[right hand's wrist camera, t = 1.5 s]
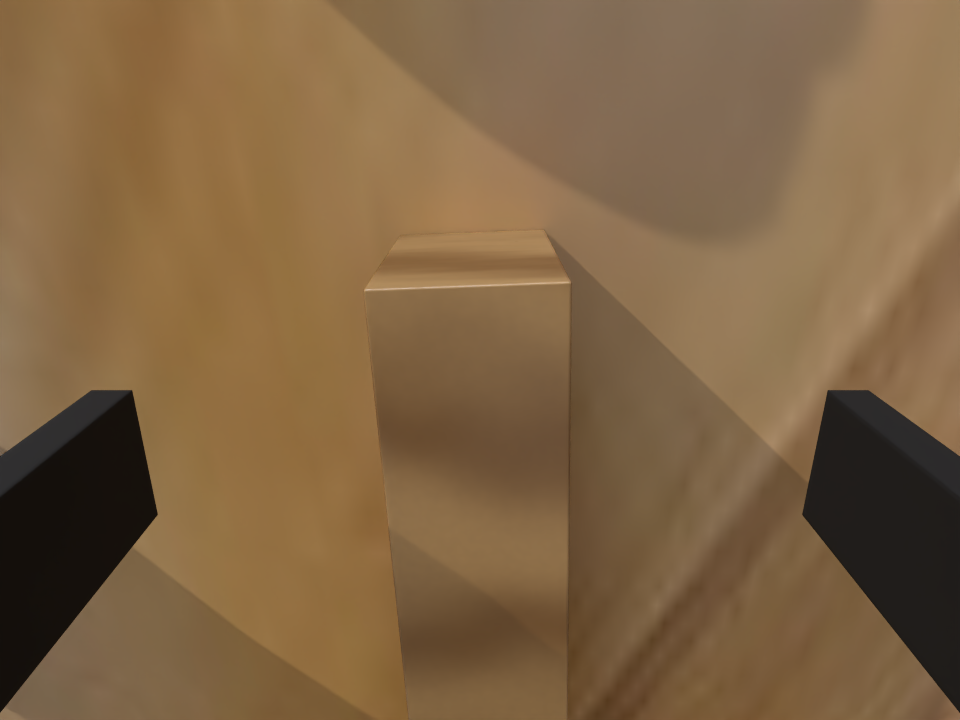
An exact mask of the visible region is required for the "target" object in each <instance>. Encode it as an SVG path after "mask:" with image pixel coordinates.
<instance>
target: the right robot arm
mask: <svg viewBox="0 0 960 720" xmlns="http://www.w3.org/2000/svg"><path fill="white" fill-rule="evenodd" d="M157 515H158V514H157V509H156V504H155V499H154V494H153V489H152V485H151V480H150V475H149V470H148V465H147V460H146V455H145V450H144V446H143V441H142V436H141V431H140V426H139V421H138V416H137V412H136V407H135V402H134V397H133V392H132V390H91V391H90V392H89V393H87V394H86V395H84V396H83V397H82V398H80V399H79V400H78V401H76V402H75V403H73V404H72V405H71V406H69V407H68V408H67V409H65V410H64V411H62V412H61V413H60V414H58V415H57V416H55V417H54V418H53V419H51V420H50V421H49V422H47V423H46V424H44V425H43V426H42V427H40V428H39V429H37V430H36V431H35V432H33V433H32V434H31V435H29V436H28V437H26V438H25V439H24V440H22V441H21V442H20V443H18V444H17V445H15V446H14V447H13V448H11V449H10V450H8V451H7V452H6V453H4V454H3V455H2V456H0V712H1V711H2V710H3V709H4V707H5V706H6V705H7V704H8V702H9V701H10V700H11V699H12V697H13V696H14V695H15V693H16V692H17V691H18V690H19V688H20V687H21V686H22V685H23V683H24V682H25V681H26V680H27V678H28V677H29V676H30V675H31V673H32V672H33V671H34V670H35V668H36V667H37V666H38V665H39V663H40V662H41V661H42V660H43V658H44V657H45V656H46V655H47V653H48V652H49V651H50V649H51V648H52V647H53V646H54V644H55V643H56V642H57V641H58V639H59V638H60V637H61V636H62V634H63V633H64V632H65V631H66V629H67V628H68V627H69V626H70V624H71V623H72V622H73V621H74V619H75V618H76V617H77V616H78V614H79V613H80V612H81V610H82V609H83V608H84V607H85V605H86V604H87V603H88V602H89V600H90V599H91V598H92V597H93V595H94V594H95V593H96V592H97V590H98V589H99V588H100V587H101V585H102V584H103V583H104V582H105V580H106V579H107V578H108V577H109V575H110V574H111V573H112V572H113V570H114V569H115V568H116V566H117V565H118V564H119V563H120V561H121V560H122V559H123V558H124V556H125V555H126V554H127V553H128V551H129V550H130V549H131V548H132V546H133V545H134V544H135V543H136V541H137V540H138V539H139V538H140V536H141V535H142V534H143V533H144V531H145V530H146V529H147V528H148V526H149V525H150V524H151V522H152V521H153V520H154V519H155V517H156V516H157ZM802 515H803V516H804V517H805V519H806V520H807V521H808V522H809V524H810V525H811V526H812V528H813V529H814V530H815V531H816V533H817V534H818V535H819V536H820V538H821V539H822V540H823V541H824V543H825V544H826V545H827V546H828V548H829V549H830V550H831V551H832V553H833V554H834V555H835V556H836V558H837V559H838V560H839V561H840V563H841V564H842V565H843V566H844V568H845V569H846V570H847V572H848V573H849V574H850V575H851V577H852V578H853V579H854V580H855V582H856V583H857V584H858V585H859V587H860V588H861V589H862V590H863V592H864V593H865V594H866V595H867V597H868V598H869V599H870V600H871V602H872V603H873V604H874V605H875V607H876V608H877V609H878V610H879V612H880V613H881V614H882V616H883V617H884V618H885V619H886V621H887V622H888V623H889V624H890V626H891V627H892V628H893V629H894V631H895V632H896V633H897V634H898V636H899V637H900V638H901V639H902V641H903V642H904V643H905V644H906V646H907V647H908V648H909V649H910V651H911V652H912V653H913V655H914V656H915V657H916V658H917V660H918V661H919V662H920V663H921V665H922V666H923V667H924V668H925V670H926V671H927V672H928V673H929V675H930V676H931V677H932V678H933V680H934V681H935V682H936V683H937V685H938V686H939V687H940V688H941V690H942V691H943V692H944V693H945V695H946V696H947V697H948V699H949V700H950V701H951V702H952V704H953V705H954V706H955V707H956V709H957V710H958V711H959V712H960V456H958V455H957V454H956V453H954V452H953V451H952V450H950V449H949V448H947V447H946V446H945V445H943V444H942V443H940V442H939V441H938V440H936V439H935V438H934V437H932V436H931V435H929V434H928V433H927V432H925V431H924V430H923V429H921V428H920V427H918V426H917V425H916V424H914V423H913V422H911V421H910V420H909V419H907V418H906V417H905V416H903V415H902V414H900V413H899V412H898V411H896V410H895V409H893V408H892V407H891V406H889V405H888V404H887V403H885V402H884V401H882V400H881V399H880V398H878V397H877V396H876V395H874V394H873V393H871V392H870V391H869V390H828V392H827V397H826V402H825V407H824V412H823V416H822V421H821V426H820V431H819V436H818V441H817V446H816V450H815V455H814V460H813V465H812V470H811V475H810V480H809V485H808V489H807V494H806V499H805V504H804V509H803V514H802Z"/></svg>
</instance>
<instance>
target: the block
mask: <svg viewBox="0 0 960 720" xmlns="http://www.w3.org/2000/svg"><path fill="white" fill-rule="evenodd" d="M363 292H364V302H365V311H366V320H367V330H368V339H369V349H370V358H371V368H372V377H373V387H374V396H375V406H376V415H377V424H378V434H379V443H380V453H381V462H382V472H383V481H384V491H385V500H386V510H387V519H388V528H389V538H390V547H391V557H392V566H393V576H394V585H395V595H396V604H397V614H398V623H399V632H400V642H401V651H402V661H403V670H404V680H405V689H406V699H407V708H408V718H409V720H567V711H568V607H569V504H570V400H571V297H572V283H571V281H570V279H569V277H568V275H567V273H566V271H565V269H564V267H563V266H562V264H561V262H560V260H559V258H558V256H557V254H556V252H555V250H554V248H553V246H552V244H551V242H550V240H549V238H548V236H547V234H546V233H545V231H544V230H521V231H496V232H470V233H445V234H420V235H401V236H399V238H398V239H397V241H396V242H395V244H394V245H393V247H392V248H391V250H390V251H389V253H388V254H387V256H386V257H385V259H384V260H383V262H382V263H381V265H380V266H379V268H378V269H377V271H376V272H375V274H374V275H373V277H372V278H371V280H370V281H369V283H368V284H367V286H366V287H365V289H364V291H363Z"/></svg>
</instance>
